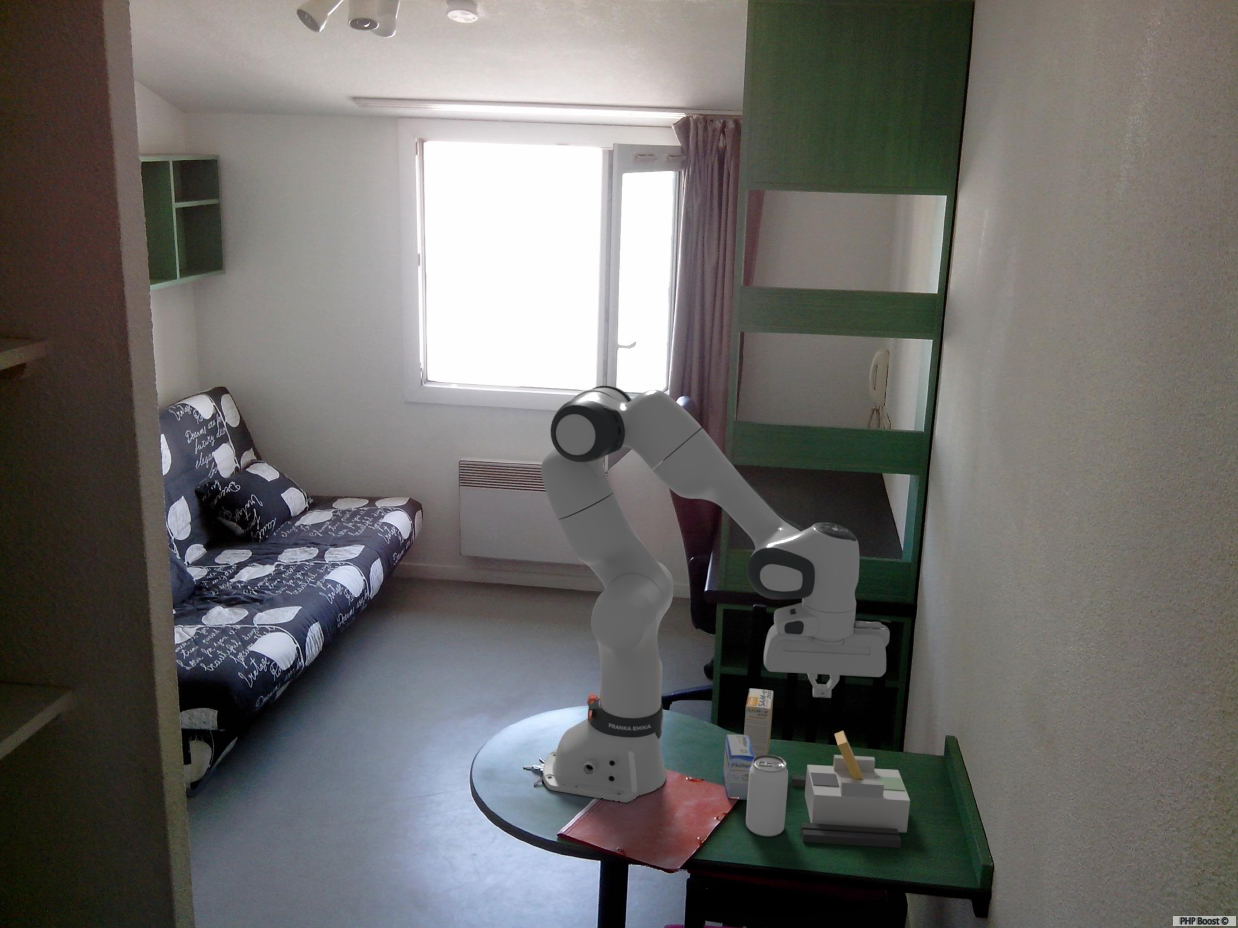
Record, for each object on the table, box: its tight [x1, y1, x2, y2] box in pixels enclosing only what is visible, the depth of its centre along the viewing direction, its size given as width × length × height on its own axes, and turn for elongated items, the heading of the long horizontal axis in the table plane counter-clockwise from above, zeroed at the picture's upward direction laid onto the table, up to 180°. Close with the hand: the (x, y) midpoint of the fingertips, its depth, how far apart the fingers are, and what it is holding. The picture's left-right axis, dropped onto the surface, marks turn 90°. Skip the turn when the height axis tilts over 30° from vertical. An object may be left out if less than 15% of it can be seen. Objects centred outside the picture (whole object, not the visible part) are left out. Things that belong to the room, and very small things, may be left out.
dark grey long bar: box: [790, 774, 806, 788], centre depth 191 cm, size 16×1×1 cm, turn 87°
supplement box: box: [743, 688, 774, 757], centre depth 198 cm, size 8×5×13 cm, turn 168°
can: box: [745, 754, 789, 838], centre depth 177 cm, size 6×6×12 cm
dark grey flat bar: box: [800, 822, 902, 849], centre depth 175 cm, size 16×3×1 cm, turn 87°
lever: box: [834, 730, 864, 780], centre depth 181 cm, size 2×6×9 cm, turn 176°
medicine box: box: [722, 734, 755, 801], centre depth 189 cm, size 8×4×9 cm, turn 1°
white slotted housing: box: [804, 754, 911, 833], centre depth 182 cm, size 16×10×8 cm, turn 87°
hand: (821, 695), depth 178 cm, fingers closed
